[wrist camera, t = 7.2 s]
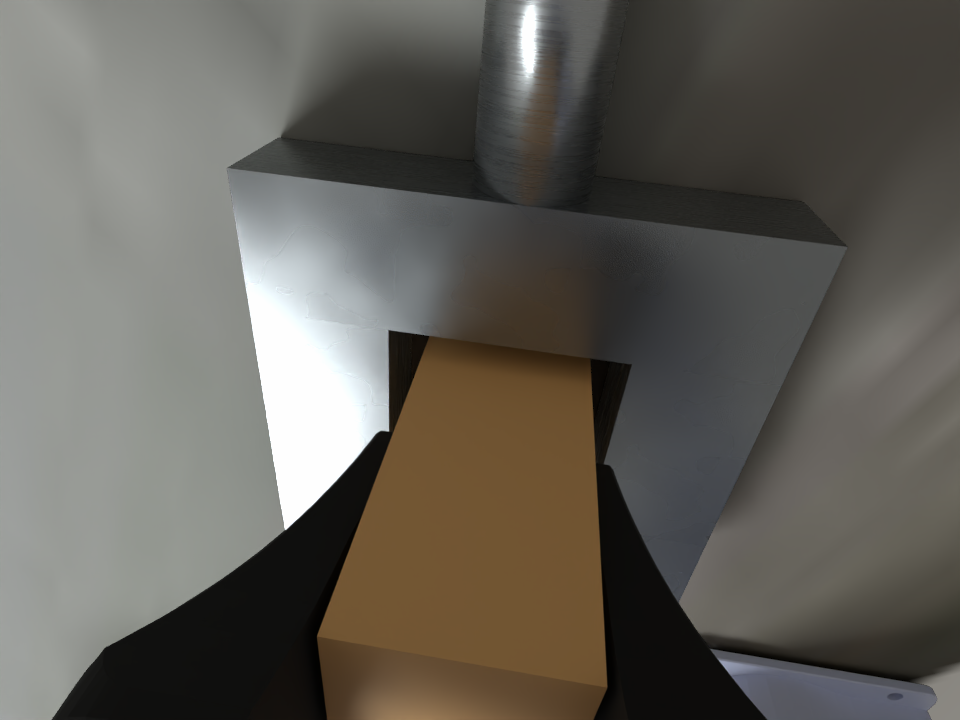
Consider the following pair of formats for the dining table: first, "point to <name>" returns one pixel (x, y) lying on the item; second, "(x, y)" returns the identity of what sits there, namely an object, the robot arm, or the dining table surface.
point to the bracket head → (529, 280)
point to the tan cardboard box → (476, 550)
